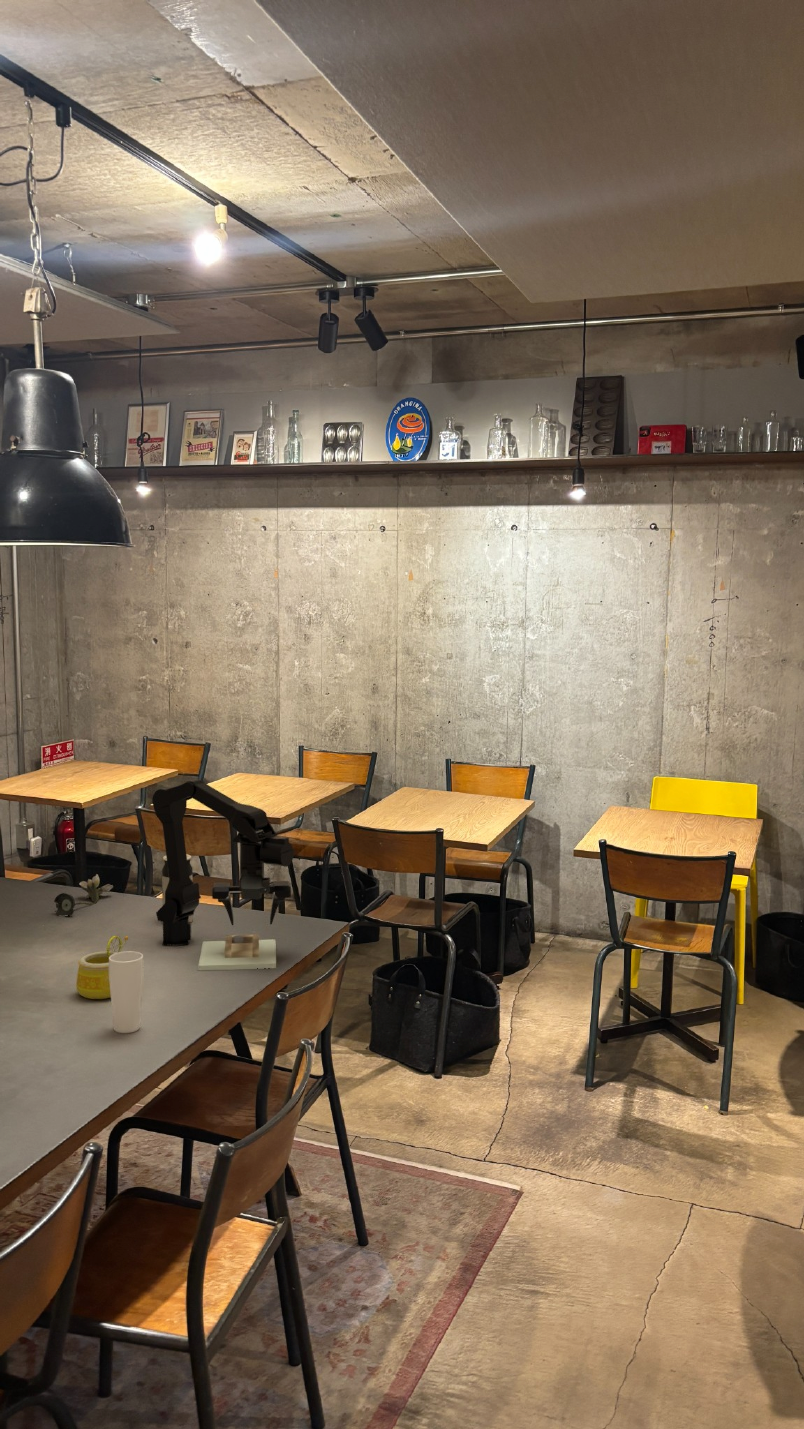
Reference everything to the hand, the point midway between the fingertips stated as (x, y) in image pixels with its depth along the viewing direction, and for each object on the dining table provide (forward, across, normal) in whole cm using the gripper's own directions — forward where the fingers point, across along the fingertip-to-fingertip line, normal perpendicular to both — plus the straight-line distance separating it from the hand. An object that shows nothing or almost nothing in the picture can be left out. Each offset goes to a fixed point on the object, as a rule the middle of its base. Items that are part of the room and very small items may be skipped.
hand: (251, 924), depth 251 cm
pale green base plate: (+8, -3, 0) cm, 9 cm away
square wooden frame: (+7, -2, 0) cm, 7 cm away
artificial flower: (+9, -48, +48) cm, 69 cm away
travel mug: (+8, -20, +30) cm, 37 cm away
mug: (+8, -31, -21) cm, 39 cm away
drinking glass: (+8, -24, -42) cm, 49 cm away
